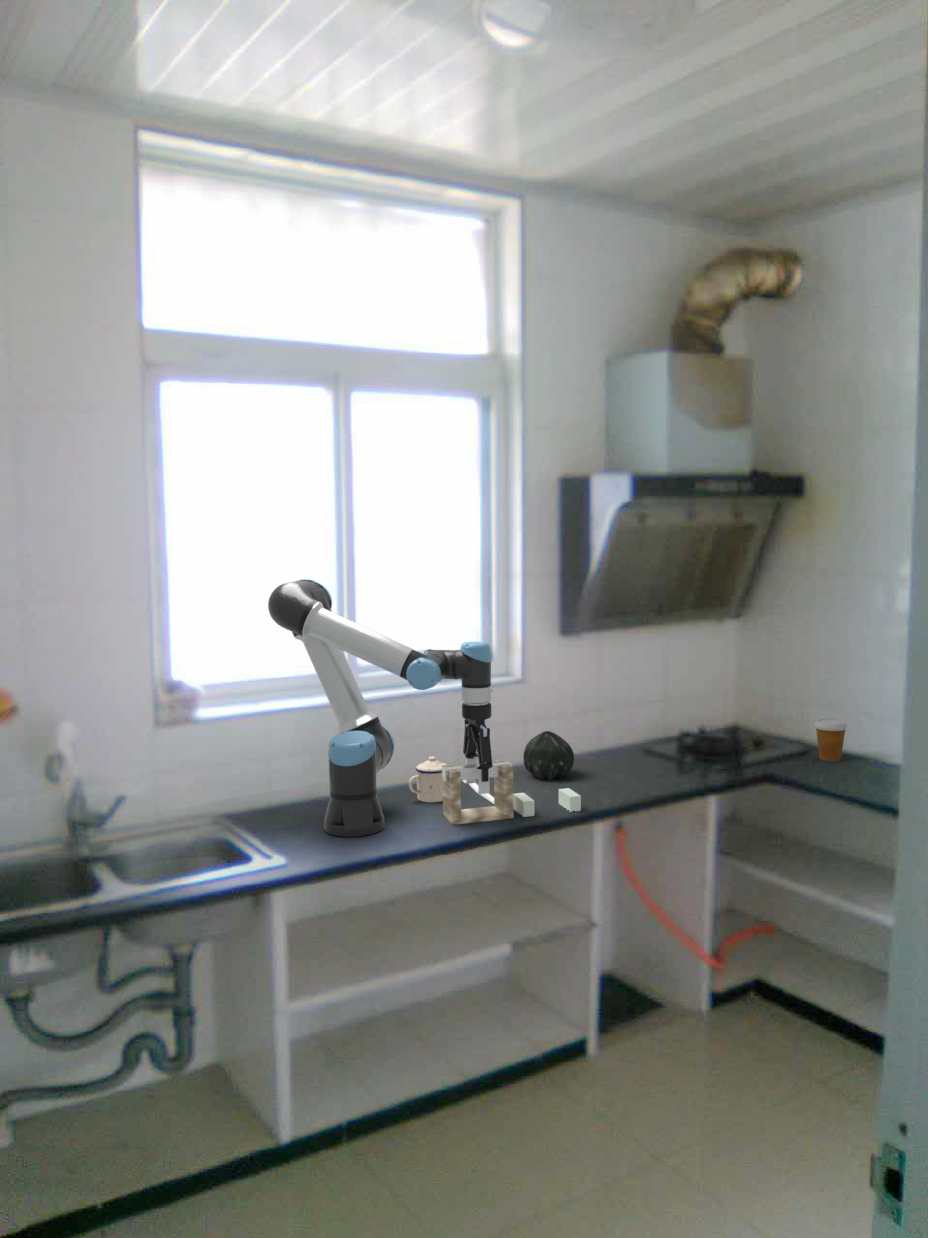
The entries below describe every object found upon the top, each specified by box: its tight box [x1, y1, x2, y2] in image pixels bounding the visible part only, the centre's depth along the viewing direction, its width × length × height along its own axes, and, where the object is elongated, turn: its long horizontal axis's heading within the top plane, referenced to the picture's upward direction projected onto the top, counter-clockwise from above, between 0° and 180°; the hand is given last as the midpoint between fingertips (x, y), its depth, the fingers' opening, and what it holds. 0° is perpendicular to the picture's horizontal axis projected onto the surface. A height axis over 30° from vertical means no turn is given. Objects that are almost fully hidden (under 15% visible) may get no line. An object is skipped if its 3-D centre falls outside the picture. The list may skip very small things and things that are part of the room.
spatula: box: [462, 780, 494, 805], centre depth 279 cm, size 28×4×3 cm, turn 19°
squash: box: [523, 730, 575, 780], centre depth 294 cm, size 14×15×15 cm
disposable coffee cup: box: [814, 718, 848, 762], centre depth 309 cm, size 10×10×12 cm
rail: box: [442, 761, 513, 782], centre depth 255 cm, size 18×3×3 cm, turn 107°
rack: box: [442, 759, 514, 826], centre depth 255 cm, size 16×8×14 cm, turn 107°
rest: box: [513, 787, 582, 818], centre depth 261 cm, size 16×8×4 cm, turn 107°
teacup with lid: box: [408, 756, 448, 803], centre depth 272 cm, size 12×9×12 cm
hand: (477, 788), depth 255 cm, fingers open, 10 cm apart
